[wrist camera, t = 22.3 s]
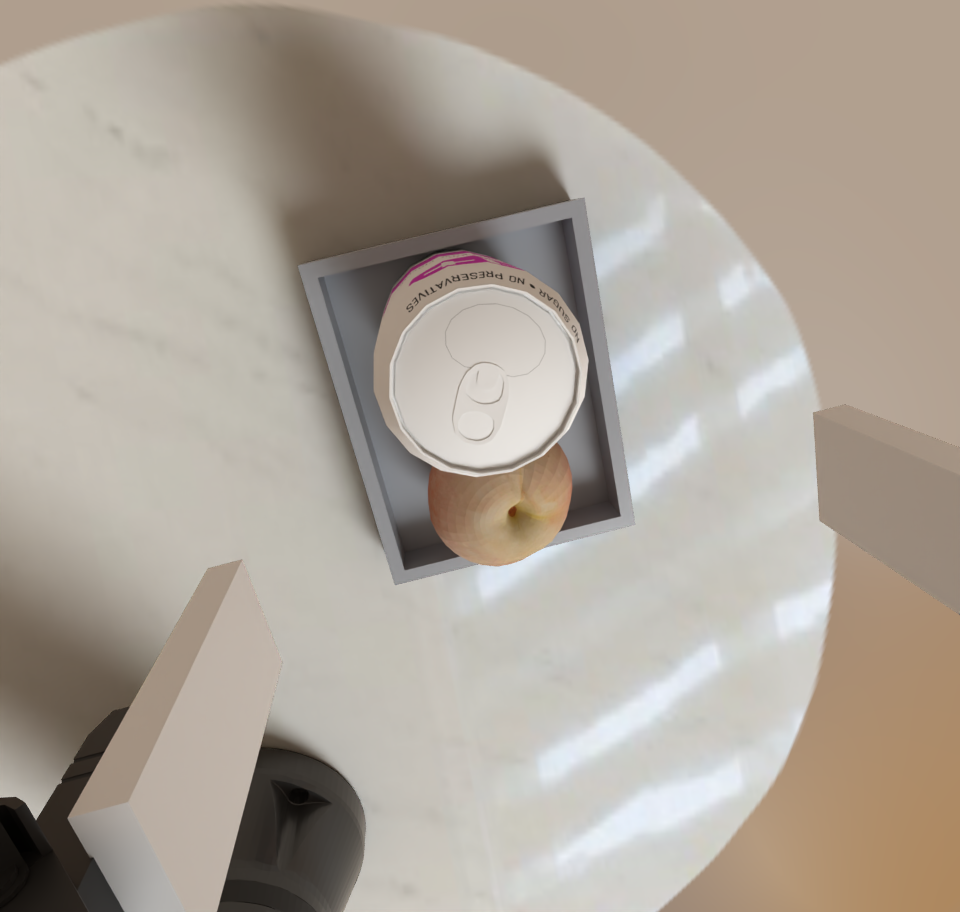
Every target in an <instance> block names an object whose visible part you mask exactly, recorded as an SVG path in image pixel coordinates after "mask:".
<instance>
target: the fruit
mask: <svg viewBox="0 0 960 912" xmlns="http://www.w3.org/2000/svg"><path fill="white" fill-rule="evenodd" d="M571 493H572V474H571V470H570V466H569V463H568V459H567V457H566V455H565V453H564V452H563V450H562V448H561V446H560V445H559V444H558V443H557V442H556V443H555V444H554V445H553V446H552V447H551V448H550V449H549V450H548V452H547V453H546V454H545V455H544V456H542V457H540V458H538V459H536V460H534V461H532V462H530V463H528V464H526V465H524V466H522V467H520V468H518V469H516V470H515V471H512V472H507V473H500V474H494V475H487V476H480V477H473V476H467V475H462V474H456V473H451V472H445V471H441V470H439V469H437V468H436V467H434V466H432V468H431V471H430V474H429V483H428V505H429V511H430V518H431V521H432V524H433V526H434V528H435V530H436V532H437V534H438V535H439V537H440V538H441V539H442V541H443V542H444V543H445V545H446V546H447V547H449V548H450V549H451V550H452V551H453V552H454V553H456V554H457V555H459V556H460V557H462V558H464V559H466V560H468V561H470V562H473V563H477V564H481V565H489V566H502V565H508V564H512V563H515V562H517V561H520V560H523V559H524V558H526V557H528V556H530V555H531V554H533V553H535V552H537V551H539V550H541V549H543V548H544V547H545V546H547V545H548V544H549V543H550V542H552V541H553V539H554V538H555V536H556V535H557V534H558V532H559V531H560V529H561V527H562V525H563V523H564V521H565V519H566V517H567V513H568V509H569V505H570V501H571Z"/></svg>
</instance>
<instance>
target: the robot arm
mask: <svg viewBox="0 0 960 912" xmlns="http://www.w3.org/2000/svg"><path fill="white" fill-rule="evenodd" d="M813 419H814V436H815V452H816V469H817V486H818V502H819V519H820V521H821V522H822V523H824V524H825V525H827V526H828V527H830V528H831V529H833V530H834V531H836V532H837V533H839V534H840V535H842V536H843V537H845V538H846V539H848V540H849V541H851V542H852V543H854V544H855V545H857V546H858V547H859V548H861V549H862V550H864V551H866V552H867V553H868V554H870V555H872V556H873V557H874V558H876V559H877V560H879V561H880V562H882V563H883V564H885V565H886V566H888V567H889V568H891V569H892V570H894V571H895V572H897V573H898V574H900V575H901V576H903V577H904V578H906V579H907V580H909V581H910V582H911V583H913V584H914V585H916V586H917V587H919V588H920V589H922V590H923V591H925V592H926V593H928V594H929V595H931V596H932V597H934V598H935V599H937V600H938V601H940V602H941V603H943V604H944V605H946V606H947V607H949V608H950V609H952V610H953V611H955V612H956V613H958V614H959V615H960V447H957V446H955V445H952V444H949V443H947V442H944V441H941V440H938V439H936V438H933V437H930V436H928V435H925V434H923V433H920V432H917V431H915V430H912V429H909V428H907V427H904V426H901V425H899V424H896V423H893V422H891V421H888V420H885V419H883V418H880V417H878V416H875V415H872V414H869V413H866V412H864V411H862V410H859V409H856V408H854V407H851V406H848V405H846V404H844V405H841V406H837V407H833V408H829V409H825V410H821V411H817V412H813ZM281 667H282V660H281V657H280V655H279V652H278V650H277V647H276V645H275V642H274V639H273V637H272V634H271V632H270V629H269V627H268V624H267V621H266V619H265V616H264V614H263V611H262V609H261V606H260V603H259V601H258V598H257V596H256V593H255V590H254V588H253V585H252V583H251V580H250V578H249V575H248V572H247V570H246V567H245V565H244V562H243V560H238V561H235V562H231V563H227V564H223V565H219V566H215V567H211V568H208V569H207V571H206V573H205V574H204V576H203V578H202V580H201V581H200V583H199V585H198V587H197V589H196V590H195V592H194V594H193V596H192V597H191V599H190V601H189V603H188V605H187V606H186V608H185V610H184V612H183V613H182V615H181V617H180V619H179V621H178V622H177V624H176V626H175V628H174V630H173V631H172V633H171V635H170V637H169V638H168V640H167V642H166V644H165V646H164V647H163V649H162V651H161V653H160V654H159V656H158V658H157V660H156V662H155V663H154V665H153V667H152V669H151V670H150V672H149V674H148V676H147V678H146V679H145V681H144V683H143V685H142V686H141V688H140V690H139V692H138V694H137V695H136V697H135V699H134V701H133V702H132V704H131V706H130V707H126V708H123V709H119V710H115V711H113V712H112V713H111V714H110V715H109V716H108V717H107V718H105V719H104V720H103V721H102V722H101V723H100V724H99V725H98V726H97V727H96V728H95V729H94V730H93V731H92V732H91V733H90V734H89V735H88V737H87V738H86V740H85V742H84V743H83V745H82V747H81V748H80V750H79V751H78V753H77V755H76V756H75V758H74V763H73V764H70V766H69V768H68V769H67V771H66V773H65V774H64V776H63V778H62V779H61V780H62V784H59V785H58V786H57V787H56V789H55V791H54V792H53V794H52V795H51V797H50V799H49V800H48V802H47V804H46V805H45V807H44V808H43V810H42V812H41V813H40V815H39V817H38V818H37V820H35V818H34V817H33V815H32V813H31V812H30V810H29V808H28V807H27V805H26V803H25V802H23V801H22V800H20V799H18V798H17V797H7V798H0V912H343V911H344V909H345V907H346V904H347V902H348V899H349V897H350V895H351V892H352V890H353V887H354V885H355V883H356V881H357V879H358V876H359V873H360V870H361V867H362V863H363V858H364V847H365V832H366V822H365V815H364V811H363V808H362V805H361V803H360V800H359V798H358V797H357V795H356V793H355V792H354V790H353V789H352V787H351V786H350V785H349V784H348V783H347V782H346V781H345V780H344V779H343V778H342V777H341V776H340V775H339V774H338V773H336V772H335V771H334V770H332V769H331V768H329V767H328V766H326V765H324V764H323V763H321V762H319V761H317V760H315V759H312V758H310V757H307V756H304V755H301V754H298V753H294V752H290V751H285V750H278V749H268V748H260V746H261V743H262V739H263V735H264V731H265V727H266V724H267V720H268V716H269V712H270V708H271V705H272V701H273V697H274V693H275V689H276V686H277V682H278V678H279V674H280V670H281Z"/></svg>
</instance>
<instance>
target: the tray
mask: <svg viewBox="0 0 960 912" xmlns="http://www.w3.org/2000/svg"><path fill="white" fill-rule="evenodd" d="M457 249H463V250H467V251H471V252H475V253H480V254H484V255H487V256H490V257H492V258H495V259H497V260H500V261H502V262H505V263H507V264H510V265H512V266H515V267H517V268H519V269H522V270H524V271H527V272H528V273H530V274H531V275H533V276H534V277H536V278H537V279H538V280H540V281H541V282H543V283H544V284H546V285H547V286H549V287H550V288H552V289H553V290H554V291H556V292H557V293H559V295H560V296H561V298H562V299H563V301H564V302H565V304H566V305H567V306H568V308H569V309H570V311H571V312H572V314H573V315H574V317H575V318H576V320H577V321H578V323H579V324H580V327H581V332H582V336H583V340H584V344H585V348H586V352H587V356H588V360H589V361H588V370H587V380H586V389H585V397H584V399H583V401H582V403H581V405H580V408H579V410H578V412H577V414H576V416H575V418H574V420H573V422H572V424H571V426H570V428H569V430H568V431H567V432H566V433H565V434H564V435H563V436H562V437H561V438H560V439H559V440H558V441H557V443H558V444H559V445H560V446H561V448H562V450H563V452H564V453H565V455H566V457H567V459H568V463H569V466H570V470H571V474H572V493H571V501H570V505H569V509H568V513H567V517H566V519H565V521H564V523H563V525H562V527H561V529H560V531H559V532H558V534H557V535H556V536H555V538H554V539H553V541H552V542H550V543H549V544H548V545H547V546H545V547H549V546H553V545H557V544H561V543H565V542H569V541H573V540H577V539H581V538H585V537H589V536H593V535H597V534H601V533H605V532H609V531H613V530H617V529H621V528H625V527H629V526H633V525H635V519H634V512H633V506H632V500H631V493H630V487H629V480H628V474H627V468H626V461H625V455H624V448H623V442H622V435H621V429H620V423H619V416H618V410H617V403H616V397H615V391H614V384H613V378H612V371H611V365H610V359H609V352H608V346H607V339H606V333H605V327H604V320H603V314H602V307H601V301H600V295H599V288H598V282H597V275H596V269H595V263H594V256H593V250H592V243H591V237H590V230H589V224H588V218H587V211H586V205H585V198H579V199H573V200H568V201H564V202H559V203H555V204H551V205H547V206H542V207H538V208H534V209H530V210H525V211H521V212H517V213H513V214H509V215H504V216H500V217H496V218H492V219H487V220H483V221H479V222H475V223H471V224H466V225H462V226H458V227H454V228H449V229H445V230H441V231H437V232H433V233H428V234H424V235H420V236H416V237H411V238H407V239H403V240H399V241H395V242H390V243H386V244H382V245H378V246H373V247H369V248H365V249H361V250H357V251H352V252H348V253H344V254H340V255H335V256H331V257H327V258H323V259H319V260H314V261H310V262H306V263H303V264H301V265H298V269H299V272H300V275H301V279H302V282H303V285H304V289H305V292H306V295H307V298H308V302H309V305H310V308H311V311H312V315H313V318H314V321H315V325H316V328H317V331H318V334H319V338H320V341H321V344H322V348H323V351H324V354H325V357H326V361H327V364H328V367H329V370H330V374H331V377H332V380H333V384H334V387H335V390H336V393H337V397H338V400H339V403H340V407H341V410H342V413H343V416H344V420H345V423H346V426H347V430H348V433H349V436H350V439H351V443H352V446H353V449H354V452H355V456H356V459H357V462H358V466H359V469H360V472H361V475H362V479H363V482H364V485H365V489H366V492H367V495H368V498H369V502H370V505H371V508H372V511H373V515H374V518H375V521H376V525H377V528H378V531H379V534H380V538H381V541H382V544H383V548H384V551H385V554H386V557H387V561H388V564H389V567H390V571H391V574H392V577H393V580H394V584H395V585H398V584H402V583H406V582H410V581H414V580H418V579H422V578H426V577H430V576H434V575H438V574H442V573H446V572H450V571H454V570H458V569H462V568H466V567H470V566H474V565H478V564H477V563H473V562H470V561H468V560H466V559H464V558H462V557H460V556H459V555H457V554H456V553H454V552H453V551H452V550H451V549H450V548H449V547H447V546H446V545H445V543H444V542H443V541H442V539H441V538H440V537H439V535H438V534H437V532H436V530H435V528H434V526H433V524H432V521H431V518H430V511H429V505H428V483H429V474H430V471H431V468H432V465H430V464H428V463H427V462H425V461H423V460H421V459H420V458H418V457H416V456H414V455H413V454H411V453H410V452H409V451H408V450H407V449H406V448H405V447H404V445H403V444H402V443H401V442H400V441H399V440H398V438H397V437H396V436H395V435H394V434H393V433H392V431H391V430H390V429H389V428H388V427H387V426H386V423H385V420H384V418H383V415H382V412H381V409H380V407H379V404H378V401H377V399H376V396H375V393H374V349H375V345H376V341H377V337H378V333H379V328H380V324H381V320H382V316H383V312H384V308H385V306H386V303H387V300H388V298H389V295H390V292H391V290H392V287H393V285H394V284H395V283H396V281H397V280H398V279H399V278H400V277H401V276H402V275H403V273H404V272H405V271H406V270H407V269H408V268H409V267H410V265H412V264H414V263H416V262H417V261H419V260H421V259H423V258H425V257H427V256H429V255H430V254H432V253H434V252H441V251H449V250H457ZM545 547H544V548H545Z"/></svg>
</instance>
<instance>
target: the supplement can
mask: <svg viewBox="0 0 960 912" xmlns="http://www.w3.org/2000/svg"><path fill="white" fill-rule="evenodd" d="M588 361H589V360H588V356H587V352H586V348H585V344H584V340H583V336H582V332H581V327H580V324H579V323H578V321H577V320H576V318H575V317H574V315H573V314H572V312H571V311H570V309H569V308H568V306H567V305H566V304H565V302H564V301H563V299H562V298H561V296H560V295H559V293H557V292H556V291H554V290H553V289H552V288H550V287H549V286H547V285H546V284H544V283H543V282H541V281H540V280H538V279H537V278H536V277H534V276H533V275H531V274H530V273H528V272H527V271H524V270H522V269H519V268H517V267H515V266H512V265H510V264H507V263H505V262H502V261H500V260H497V259H495V258H492V257H490V256H487V255H484V254H480V253H475V252H471V251H467V250H463V249H457V250H449V251H441V252H434V253H432V254H430V255H429V256H427V257H425V258H423V259H421V260H419V261H417V262H416V263H414V264H412V265H410V267H409V268H408V269H407V270H406V271H405V272H404V273H403V275H402V276H401V277H400V278H399V279H398V280H397V281H396V283H395V284H394V285H393V287H392V290H391V292H390V295H389V298H388V300H387V303H386V306H385V308H384V312H383V316H382V320H381V324H380V328H379V333H378V337H377V341H376V345H375V349H374V393H375V396H376V399H377V401H378V404H379V407H380V409H381V412H382V415H383V418H384V420H385V423H386V426H387V427H388V428H389V429H390V430H391V431H392V433H393V434H394V435H395V436H396V437H397V438H398V440H399V441H400V442H401V443H402V444H403V445H404V447H405V448H406V449H407V450H408V451H409V452H410V453H411V454H413V455H414V456H416V457H418V458H420V459H421V460H423V461H425V462H427V463H428V464H430V465H432V466H434V467H436V468H437V469H439V470H441V471H445V472H451V473H456V474H462V475H467V476H473V477H480V476H487V475H494V474H500V473H507V472H512V471H515V470H516V469H518V468H520V467H522V466H524V465H526V464H528V463H530V462H532V461H534V460H536V459H538V458H540V457H542V456H544V455H545V454H546V453H547V452H548V450H549V449H550V448H551V447H552V446H553V445H554V444H555V443H556V442H557V441H558V440H559V439H560V438H561V437H562V436H563V435H564V434H565V433H566V432H567V431H568V430H569V428H570V426H571V424H572V422H573V420H574V418H575V416H576V414H577V412H578V410H579V408H580V405H581V403H582V401H583V399H584V397H585V389H586V380H587V370H588Z"/></svg>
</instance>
